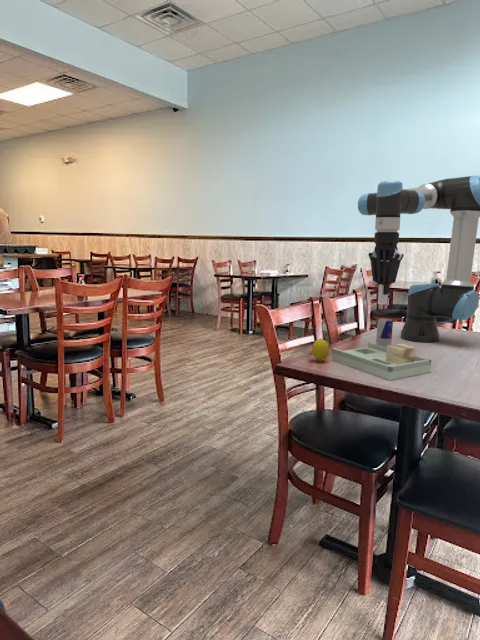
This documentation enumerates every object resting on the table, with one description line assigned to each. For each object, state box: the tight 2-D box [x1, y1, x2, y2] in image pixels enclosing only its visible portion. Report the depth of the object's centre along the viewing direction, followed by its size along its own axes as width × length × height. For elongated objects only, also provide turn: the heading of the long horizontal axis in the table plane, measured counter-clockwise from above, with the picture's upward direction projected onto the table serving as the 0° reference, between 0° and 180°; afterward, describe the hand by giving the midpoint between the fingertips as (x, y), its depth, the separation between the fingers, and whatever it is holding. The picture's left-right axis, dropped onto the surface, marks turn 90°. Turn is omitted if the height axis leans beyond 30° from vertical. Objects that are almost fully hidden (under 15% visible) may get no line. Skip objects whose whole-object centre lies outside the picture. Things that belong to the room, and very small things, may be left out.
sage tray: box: [330, 342, 432, 381], centre depth 147 cm, size 18×26×4 cm
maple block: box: [386, 343, 416, 365], centre depth 142 cm, size 6×6×5 cm
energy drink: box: [375, 318, 394, 348], centre depth 165 cm, size 5×5×12 cm
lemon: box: [311, 338, 330, 362], centre depth 151 cm, size 6×6×8 cm
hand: (382, 304), depth 148 cm, fingers closed
